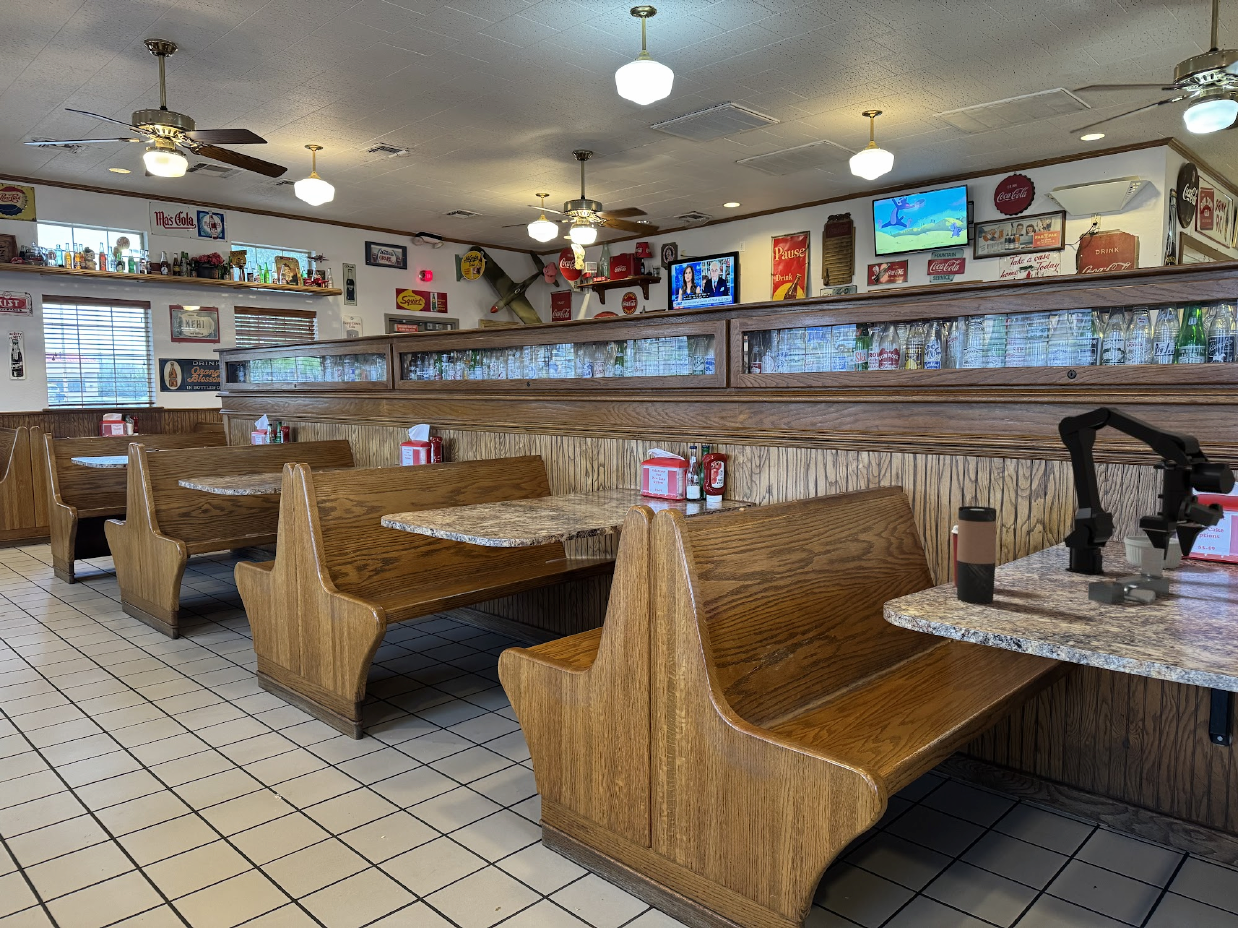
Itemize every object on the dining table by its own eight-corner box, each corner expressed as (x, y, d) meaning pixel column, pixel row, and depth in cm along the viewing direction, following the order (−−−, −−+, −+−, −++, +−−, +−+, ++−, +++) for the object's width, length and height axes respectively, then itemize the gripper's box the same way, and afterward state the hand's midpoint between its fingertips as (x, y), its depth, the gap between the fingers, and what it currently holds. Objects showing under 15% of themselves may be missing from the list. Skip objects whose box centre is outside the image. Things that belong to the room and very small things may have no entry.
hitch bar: (1088, 599, 175) (1088, 580, 175) (1145, 589, 185) (1146, 571, 184) (1111, 604, 171) (1112, 584, 170) (1169, 593, 180) (1169, 574, 180)
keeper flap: (1139, 574, 183) (1142, 546, 182) (1142, 574, 183) (1144, 546, 183) (1160, 578, 179) (1163, 549, 179) (1162, 578, 179) (1165, 549, 179)
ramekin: (1114, 560, 220) (1115, 534, 220) (1166, 561, 218) (1167, 535, 218) (1138, 569, 207) (1139, 542, 207) (1194, 570, 205) (1195, 543, 205)
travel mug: (999, 599, 175) (1002, 508, 174) (987, 606, 169) (989, 511, 168) (963, 594, 180) (965, 505, 179) (950, 600, 175) (952, 508, 173)
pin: (1093, 596, 178) (1093, 583, 178) (1109, 592, 182) (1110, 579, 181) (1143, 606, 169) (1144, 592, 169) (1159, 601, 173) (1160, 587, 173)
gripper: (1192, 495, 172) (1189, 568, 173) (1239, 491, 181) (1236, 560, 182) (1139, 491, 182) (1136, 559, 183) (1186, 487, 191) (1183, 552, 192)
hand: (1174, 558), depth 185 cm, fingers open, 9 cm apart
